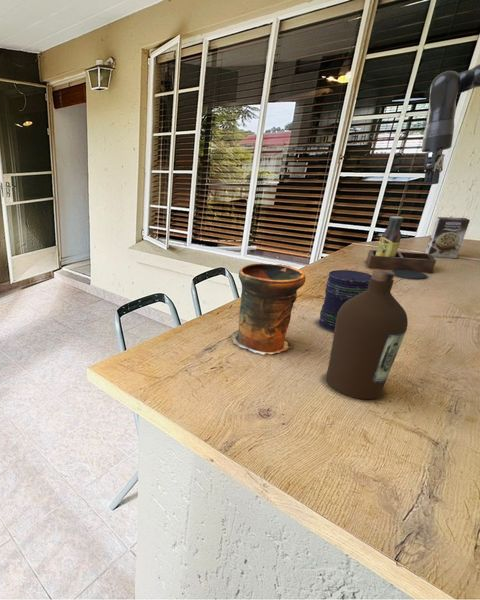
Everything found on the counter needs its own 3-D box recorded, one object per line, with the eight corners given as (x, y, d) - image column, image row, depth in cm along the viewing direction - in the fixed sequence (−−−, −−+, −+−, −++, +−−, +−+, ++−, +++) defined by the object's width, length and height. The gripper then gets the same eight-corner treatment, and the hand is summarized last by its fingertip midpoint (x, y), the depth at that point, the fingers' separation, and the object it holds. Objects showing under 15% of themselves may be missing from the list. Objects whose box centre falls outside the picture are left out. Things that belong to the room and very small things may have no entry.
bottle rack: (426, 265, 140) (429, 253, 138) (432, 273, 132) (436, 260, 130) (366, 261, 150) (369, 249, 148) (368, 267, 142) (371, 256, 140)
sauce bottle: (369, 263, 147) (381, 215, 140) (386, 263, 146) (400, 215, 138) (378, 267, 141) (391, 218, 134) (396, 268, 140) (410, 217, 132)
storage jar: (316, 316, 104) (326, 268, 98) (356, 321, 100) (369, 271, 94) (320, 331, 96) (331, 279, 90) (365, 336, 91) (379, 283, 86)
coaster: (423, 272, 133) (423, 271, 133) (428, 280, 125) (429, 279, 125) (389, 270, 138) (389, 268, 138) (392, 277, 130) (392, 276, 130)
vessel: (271, 363, 82) (284, 284, 75) (219, 341, 94) (226, 270, 86) (303, 345, 89) (318, 270, 82) (252, 326, 101) (261, 259, 93)
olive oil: (313, 383, 74) (338, 272, 65) (334, 366, 80) (360, 261, 71) (373, 409, 66) (412, 285, 57) (393, 387, 72) (431, 272, 62)
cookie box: (427, 256, 151) (439, 218, 145) (424, 253, 156) (436, 216, 150) (457, 258, 146) (470, 219, 140) (453, 255, 151) (466, 217, 145)
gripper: (448, 130, 116) (441, 181, 119) (457, 135, 124) (450, 182, 127) (418, 136, 122) (411, 184, 125) (428, 140, 130) (422, 185, 133)
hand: (431, 183), depth 126 cm, fingers open, 8 cm apart
